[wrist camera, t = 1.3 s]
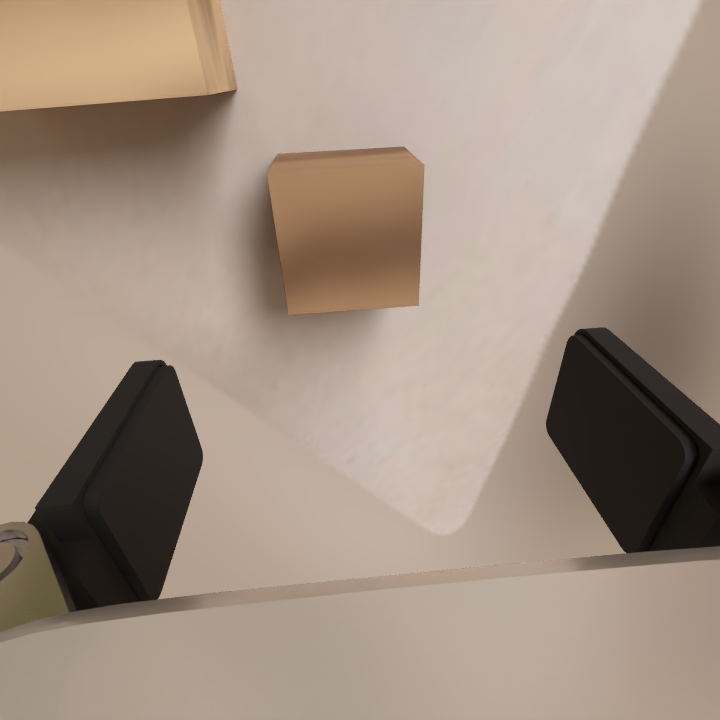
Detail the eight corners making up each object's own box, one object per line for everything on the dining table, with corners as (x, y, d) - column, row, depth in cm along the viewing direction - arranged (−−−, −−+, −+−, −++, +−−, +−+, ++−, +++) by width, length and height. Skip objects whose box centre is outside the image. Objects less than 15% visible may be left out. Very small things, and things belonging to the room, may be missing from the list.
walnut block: (278, 153, 20) (267, 174, 16) (403, 146, 20) (424, 164, 16) (294, 272, 23) (288, 314, 19) (401, 265, 24) (418, 305, 20)
